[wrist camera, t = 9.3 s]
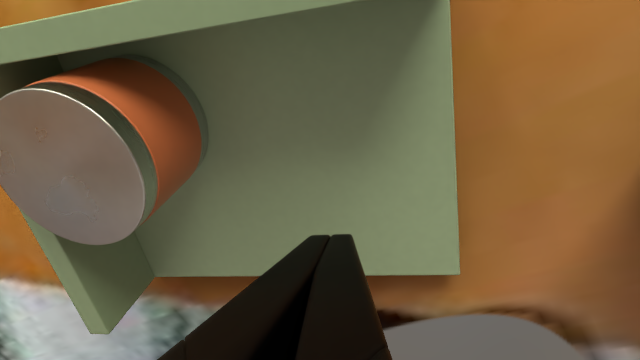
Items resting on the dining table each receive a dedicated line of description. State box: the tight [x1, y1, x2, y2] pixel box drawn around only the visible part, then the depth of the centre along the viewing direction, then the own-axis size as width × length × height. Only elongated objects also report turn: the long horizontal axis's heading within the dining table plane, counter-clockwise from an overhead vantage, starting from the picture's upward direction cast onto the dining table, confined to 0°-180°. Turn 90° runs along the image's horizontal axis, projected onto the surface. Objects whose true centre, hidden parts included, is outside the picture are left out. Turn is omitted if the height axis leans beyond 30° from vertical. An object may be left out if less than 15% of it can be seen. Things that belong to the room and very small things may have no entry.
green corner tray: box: [0, 0, 460, 334], centre depth 19 cm, size 19×15×6 cm
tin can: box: [0, 55, 209, 245], centre depth 18 cm, size 7×7×6 cm
